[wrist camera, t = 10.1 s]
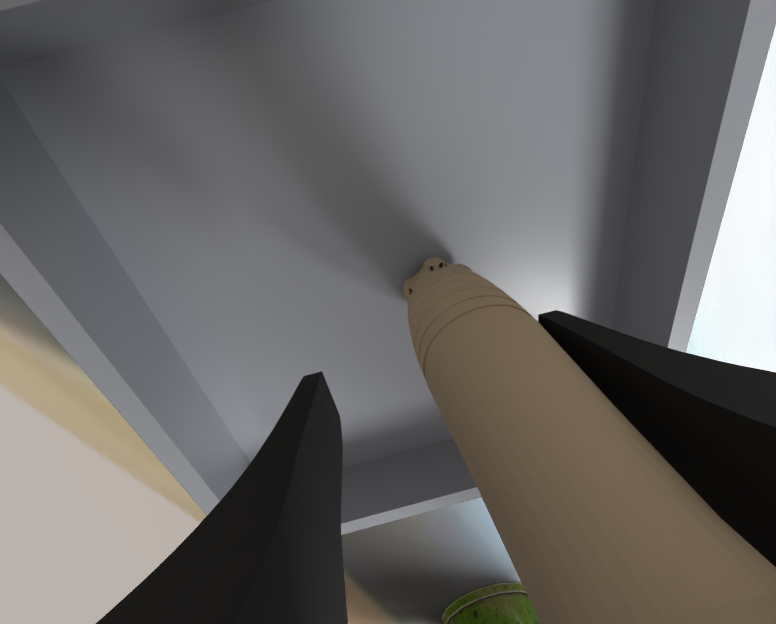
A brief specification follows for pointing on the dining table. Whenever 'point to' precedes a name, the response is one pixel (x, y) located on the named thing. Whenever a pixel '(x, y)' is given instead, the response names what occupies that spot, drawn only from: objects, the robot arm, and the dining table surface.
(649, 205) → the bin
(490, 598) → the lantern
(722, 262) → the dining table surface
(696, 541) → the handle
